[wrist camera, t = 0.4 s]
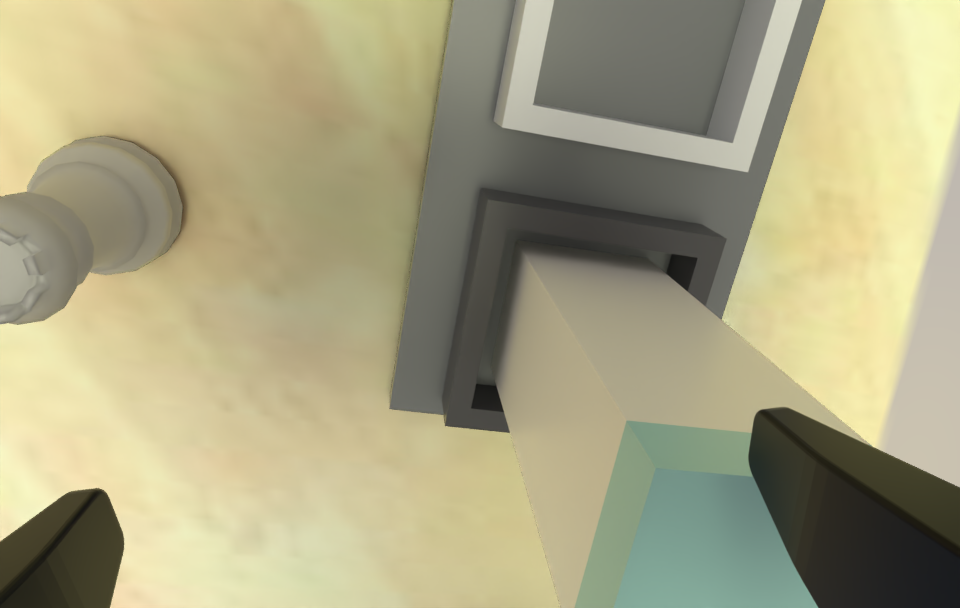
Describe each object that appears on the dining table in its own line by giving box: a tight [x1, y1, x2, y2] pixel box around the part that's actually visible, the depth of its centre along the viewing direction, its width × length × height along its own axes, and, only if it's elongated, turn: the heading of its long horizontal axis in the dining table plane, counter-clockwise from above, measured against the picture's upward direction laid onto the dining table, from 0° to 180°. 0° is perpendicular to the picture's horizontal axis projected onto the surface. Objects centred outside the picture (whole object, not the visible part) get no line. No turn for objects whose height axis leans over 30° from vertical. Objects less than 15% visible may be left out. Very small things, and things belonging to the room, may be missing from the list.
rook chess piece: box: [0, 136, 183, 325], centre depth 19 cm, size 4×4×8 cm
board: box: [389, 0, 825, 433], centre depth 23 cm, size 20×12×3 cm, turn 169°
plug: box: [491, 240, 871, 608], centre depth 19 cm, size 5×5×14 cm
